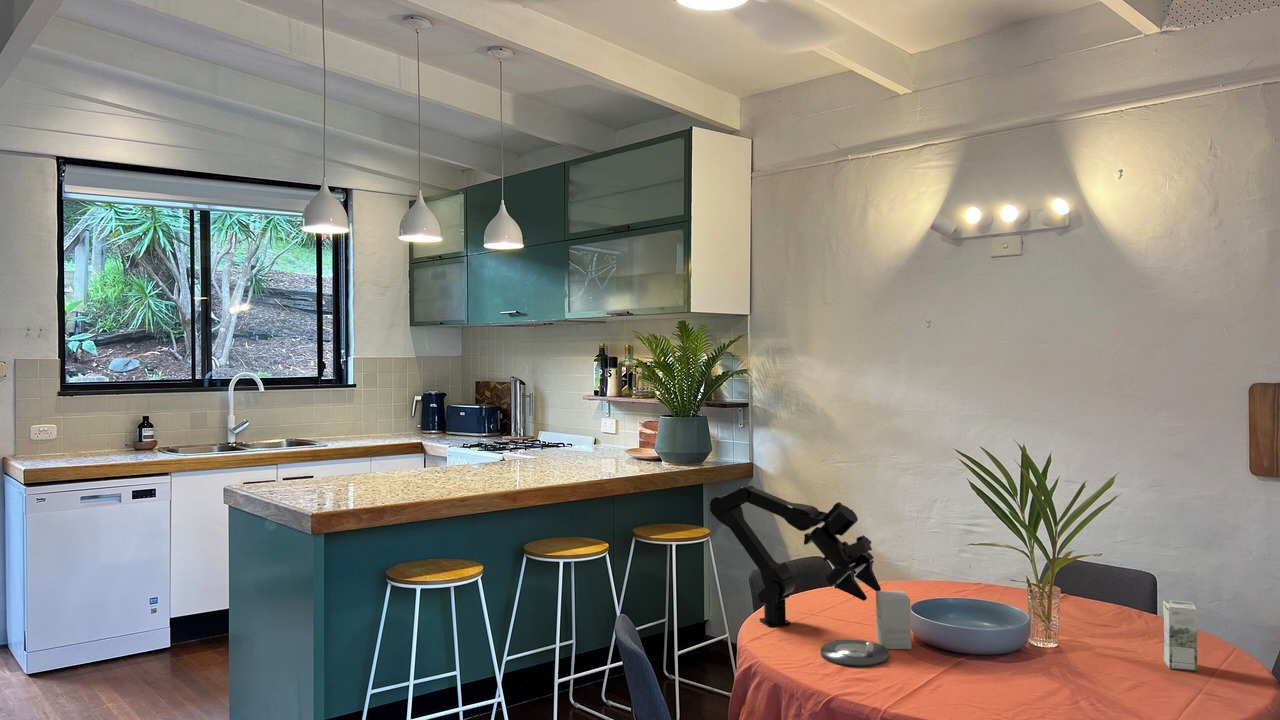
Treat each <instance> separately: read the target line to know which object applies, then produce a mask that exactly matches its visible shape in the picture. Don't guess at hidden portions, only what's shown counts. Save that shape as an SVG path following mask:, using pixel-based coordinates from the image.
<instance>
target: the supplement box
mask: <svg viewBox="0 0 1280 720" xmlns="http://www.w3.org/2000/svg"><path fill="white" fill-rule="evenodd" d="M911 610H912V609H911V598H910V597H909V596H908V595H907V593H906V592H905V591H904V590H880V591H875V614H876V619H875V621H876V622H875V623H876V640H877V642H878V644H880V645H882V646H884V647H885V648H887V649H888V650H912V623H911V621H912V617H911V616H912V615H911V613H912V612H911Z"/></svg>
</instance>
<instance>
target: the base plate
mask: <svg viewBox="0 0 1280 720" xmlns="http://www.w3.org/2000/svg"><path fill="white" fill-rule="evenodd" d="M820 656H821V657H822V658H823V659H824V660H825V659H826V660H825V661H827V662H830V663H832V664H834V663H835V665H838V666H842V667H851V668H869V667H870V668H871V667H877V666H881V665H883V664H886V663H887V662H888V661H889V660H888V659H890V651H889V649H887V648H885V647H884V646H882V645H880V644H879V643H877V642H873V641H868V640H863V639H852V638H851V639H849V638H848V639H838V640H837V639H836V640H831V641H828V642H826V643H823V644H822V645H821V647H820ZM876 665H877V666H876Z"/></svg>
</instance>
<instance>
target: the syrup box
mask: <svg viewBox="0 0 1280 720" xmlns="http://www.w3.org/2000/svg"><path fill="white" fill-rule="evenodd" d="M1162 606H1163V609H1162V610H1163V611H1162V613H1163V615H1162V616H1163V620H1162V621H1163V627H1162V628H1163V661H1164V664H1166V666H1167V667H1168V668H1169V670H1178V671H1179V670H1180V671H1188V672H1189V671H1190V672H1192V671H1193V672H1197V671H1198V609H1197V608H1196V606H1195V604H1194V603H1193V602H1191V601H1183V600H1167V599H1165V600H1163V603H1162Z"/></svg>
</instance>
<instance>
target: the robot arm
mask: <svg viewBox="0 0 1280 720" xmlns="http://www.w3.org/2000/svg"><path fill="white" fill-rule="evenodd" d="M745 503H748V504H751V505H753V506H755V507H758V508H759V509H762V510H765V511H766V512H769V513H771V514H774V515H776V516H778V517H781V518H783V519H784V520H785V522H786V523H787V524H789V525H790V526H792V527H793V528H795V529H796V530H798V531H800V532H804V531H809V530H811V529H812V528H814V529H813V530H812V531H810V532H807V533H804V534H803V535H804V539H803V544H804V546H806V545H810V544H811V543H813V545H814V546H815V547H816V548H817V550H819V551H820V553H821V554H822V555H823V558H822V560H824V562H828V563H830V565H831V566H832V570H831V571H830V572H829V573H828V574H827V575H825V582H826V585H828V586H829V587H830V588H833V587H834V589H838V590H839V591H842V592H845V593H847V594H849V595H851V596H853V597H855V598H857V599H859V600H861V601H864V602H865V601H866V600H867V599H868V597H867V595H866V594H865V592H864V591H863V590H862V588H861V587H860V585H859V584H858V581H856V579H857V580H859V581H860V582H862V583H863V584H865V585H867V587H869V588H870V589H872V590H873V591H875V592H876V591H882V589H881V586H880V583H879V582H878V579H877V578H876V575H875V573H874V570H873V564H874V559H875V558H874V556H873V554H871V552H869V551H872V550H873V548H872V545H871V544H872V541H871V540H870V539H869V538H868V537H867V536H865V535H860V536H859V537H856V542H854V543H853V542H852V543H851V544H849V542H847V541H841V539H839V537H838V536H841V537H842V536H844V535H845V534H846V533H847V532H848V531H849V530H850V529H851V528H852V527H853V526H854V525H855V524H856V523H857V522H858V520H859V519H858V516H857V514H856V513H855V512H854V510H853V509H850V508H849V507H848V506H846V505H844V504H843V503H841V502H840V501H838V502H836V503H835V504H834V505H833V506H832V508H831V509H830V510H829V511H828V512H826V511H820V510H819V509H818V508H817V507H815V506H813V505H809V504H804V503H797V502H792V501H791V502H790V501H788V500H786V499H782V498H780V497H777V496H775V495H773V494H771V493H768V492H766V491H763V490H761V489H758V488H757V487H755V486H753V485H749V484H748V485H744V486H740V487H739V488H738V489H736V490H734V491H732V492H731V493H726V494H722V495H718V496H715V497H714V498H711V500H710V503H709V508H708V509H709V512H710V514H711V515H712V516H713V517H714V518H715V519H716V520H717V521H718V522H719V523H720V524H722V525H724V526H725V527H727V529H729V530H730V531H731V532H732V534H733V535H734V537H735V538H736V539H737V541H738V542H739V543H740V545H741V546H742V548H743V550H744V551H745V552H746V554H748V556H749V558H750V559H751V561H752V562H753V563H754V565H755V566H756V567H757V569H758V570H759V571H760V578H761V583H762V584H763V587H764V588H762V590H761V591H760V592H758V594H757V598H758V600H759V603H763V614H764V616H763V617H761V618H759V621H760V622H761V623H763V624H764V625H766V626H768V627H770V628H771V627H780V626H785V625H791V624H792V621H790V620H788V619H787V617H786V614H787V613H786V599H787V598H790V596H791V593H792V592H793V591H794V590H795V588H796V581H797V580H796V578H795V573H794V572H793V571H792V570H791V569H790V568H789V565H788V564H787V563H786V562H784V561H783V563H779V562H777V561H775V559H773V557H772V556H771V554H770V553H769V551H768V550H767V548H766V547H765V546H764V544H763V543H762V542H761V540H760V539H759V537H758V536H757V535H756V533H755V532H754V530H753V529H752V528H751V526H750V525H749V523H748V522H747V521H746V519H745V517H744V513H743V508H742V505H744V504H745ZM823 523H824V524H823ZM821 524H823V525H821ZM818 525H821V527H820V526H818ZM855 578H856V579H855Z"/></svg>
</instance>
